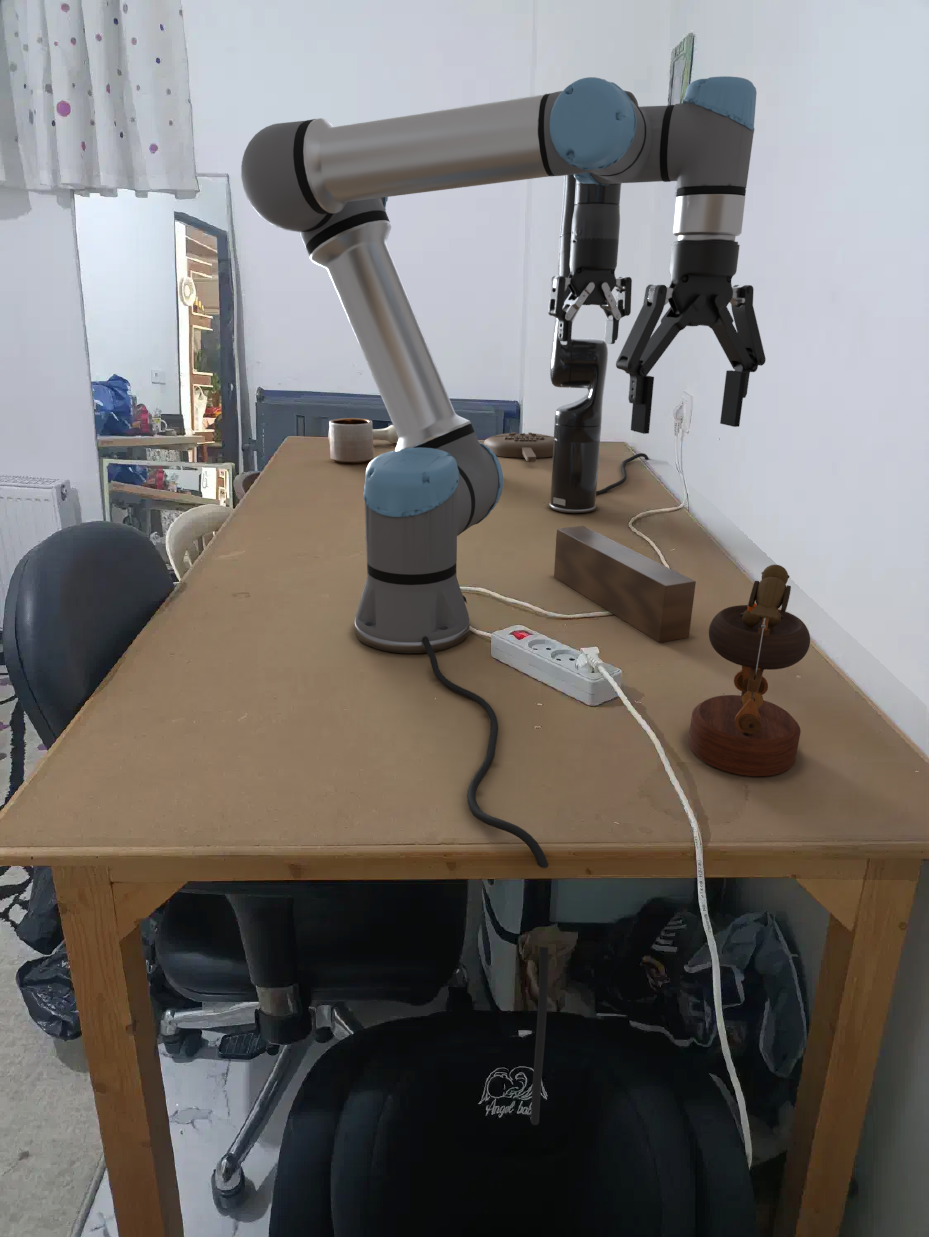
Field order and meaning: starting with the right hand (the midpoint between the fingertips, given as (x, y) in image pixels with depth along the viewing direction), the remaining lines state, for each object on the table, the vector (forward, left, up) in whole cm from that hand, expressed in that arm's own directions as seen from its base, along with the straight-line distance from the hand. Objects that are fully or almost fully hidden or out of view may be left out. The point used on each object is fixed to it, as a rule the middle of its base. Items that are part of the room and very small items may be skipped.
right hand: (587, 344), depth 140 cm
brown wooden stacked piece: (+70, +16, -34) cm, 79 cm away
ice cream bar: (-74, -11, -34) cm, 82 cm away
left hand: (+41, +11, -7) cm, 43 cm away
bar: (+31, +5, -34) cm, 46 cm away
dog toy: (-84, -56, -34) cm, 107 cm away
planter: (-62, -55, -34) cm, 89 cm away
